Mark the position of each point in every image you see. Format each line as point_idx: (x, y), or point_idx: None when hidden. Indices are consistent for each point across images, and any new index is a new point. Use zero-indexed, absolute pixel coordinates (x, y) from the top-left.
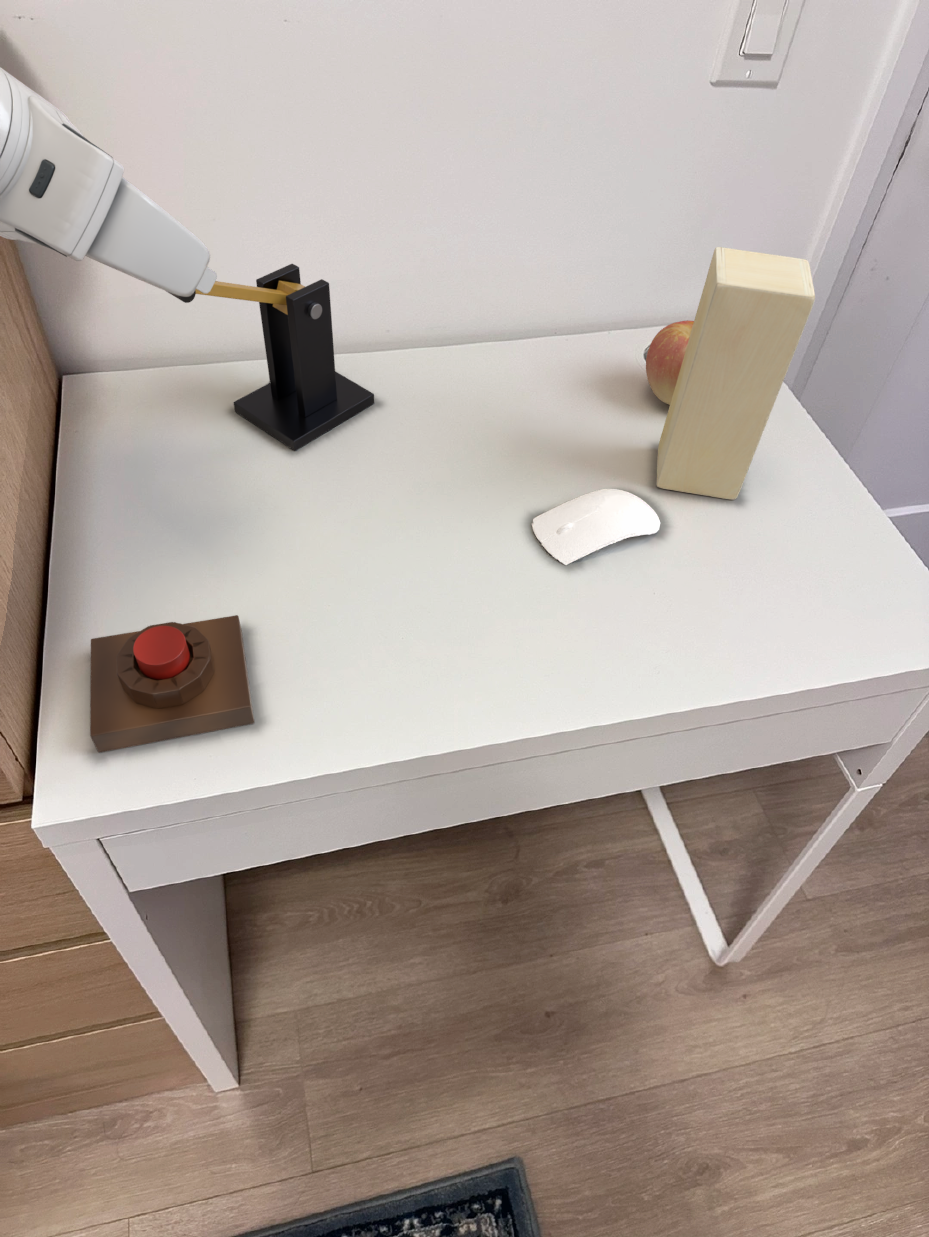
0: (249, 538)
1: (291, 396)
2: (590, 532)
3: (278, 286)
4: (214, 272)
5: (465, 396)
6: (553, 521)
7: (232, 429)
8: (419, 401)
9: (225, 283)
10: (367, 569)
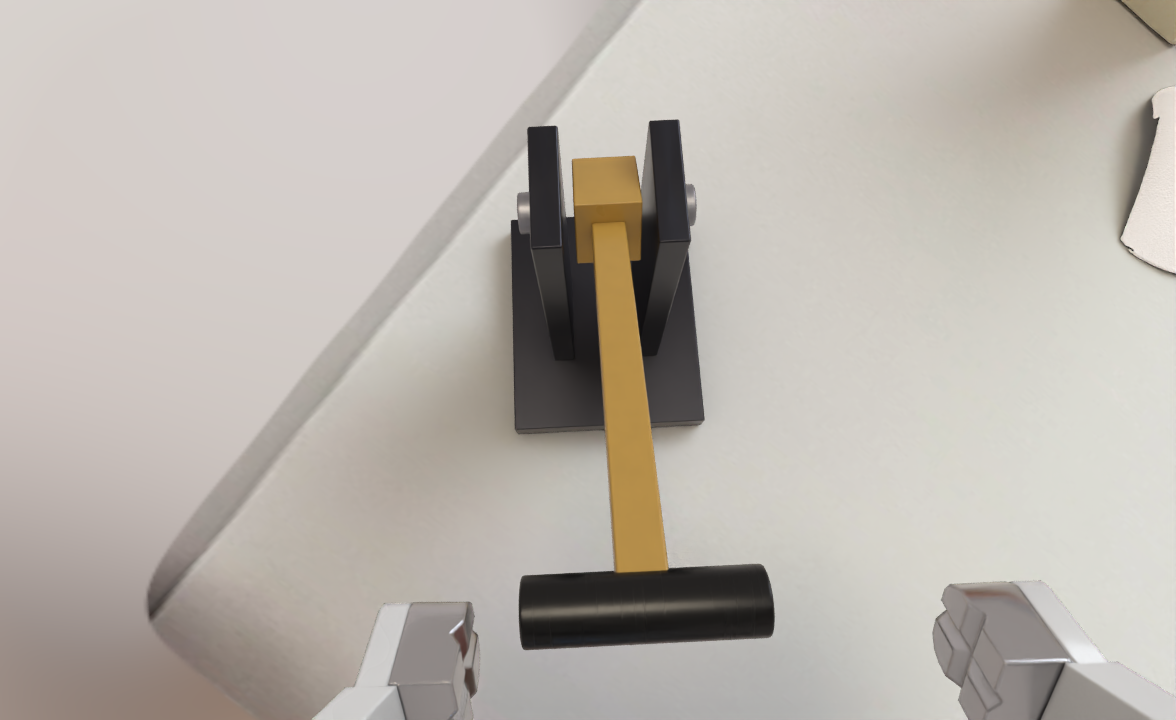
0: (861, 658)
1: (582, 331)
2: None
3: (578, 217)
4: (1047, 589)
5: (773, 93)
6: (1171, 227)
7: (560, 472)
8: (730, 159)
9: (615, 377)
10: (1064, 543)
